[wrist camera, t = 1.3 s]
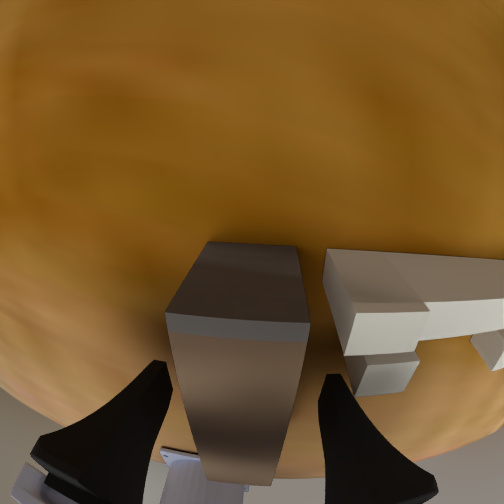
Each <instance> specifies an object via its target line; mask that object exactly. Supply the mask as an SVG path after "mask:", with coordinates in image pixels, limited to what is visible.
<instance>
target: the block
mask: <svg viewBox="0 0 504 504" xmlns="http://www.w3.org/2000/svg"><path fill="white" fill-rule="evenodd" d="M165 317H166V323H167V329H168V334H169V340H170V345H171V350H172V355H173V360H174V364H175V369H176V374H177V378H178V382H179V386H180V391H181V395H182V399H183V403H184V407H185V410H186V414H187V418H188V421H189V425H190V428H191V432H192V435H193V439H194V442H195V445H196V448H197V452H198V455H199V458H200V461H201V464H202V467H203V470H204V473H205V475H206V478H207V480H209V481H216V482H223V483H232V484H243V485H259V486H271V484H272V481H273V478H274V474H275V471H276V468H277V464H278V461H279V458H280V454H281V451H282V447H283V444H284V440H285V437H286V433H287V429H288V425H289V421H290V417H291V414H292V410H293V405H294V401H295V397H296V393H297V389H298V384H299V380H300V375H301V371H302V366H303V361H304V356H305V351H306V346H307V341H308V336H309V331H310V325H311V321H310V316H309V310H308V305H307V299H306V294H305V289H304V284H303V279H302V274H301V269H300V264H299V259H298V254H297V249H296V246H281V245H263V244H243V243H224V242H207V244H206V245H205V247H204V249H203V250H202V252H201V253H200V255H199V257H198V258H197V260H196V261H195V263H194V265H193V266H192V268H191V269H190V271H189V273H188V274H187V276H186V278H185V279H184V281H183V283H182V284H181V286H180V287H179V289H178V291H177V292H176V294H175V296H174V297H173V299H172V301H171V302H170V304H169V306H168V308H167V309H166V311H165Z"/></svg>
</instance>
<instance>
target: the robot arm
mask: <svg viewBox="0 0 504 504" xmlns="http://www.w3.org/2000/svg"><path fill="white" fill-rule="evenodd" d="M172 392H173V387H172V384H171V380H170V376H169V372H168V368H167V364H166V362H164V361H158V360H153V361H152V362H151V363H150V364H149V365H148V366H147V367H146V368H145V369H144V370H143V371H142V372H141V373H140V374H139V375H138V376H137V377H136V378H135V379H134V380H133V381H132V382H131V383H130V384H129V385H128V386H127V387H126V388H124V389H123V390H122V391H121V392H120V393H119V394H118V395H116V396H115V397H114V398H113V399H112V400H110V401H109V402H108V403H107V404H105V405H104V406H102V407H101V408H100V409H98V410H97V411H95V412H94V413H92V414H90V415H89V416H87V417H85V418H84V419H82V420H80V421H78V422H76V423H74V424H72V425H70V426H67V427H65V428H63V429H60V430H58V431H55V432H52V433H49V434H45V435H42V436H40V438H39V439H38V440H37V442H36V444H35V446H34V447H33V449H32V451H31V453H30V455H31V457H32V458H33V459H34V460H35V461H36V462H37V463H38V464H39V465H41V466H42V467H43V468H44V469H45V470H47V471H48V472H49V473H48V475H47V476H46V475H45V474H43V473H42V472H41V471H39V470H38V469H36V468H35V467H33V466H32V465H30V464H29V463H27V462H26V463H25V464H24V467H23V468H22V470H21V472H20V474H19V476H18V478H17V480H16V482H15V484H14V486H13V488H12V490H11V492H10V496H12V497H13V498H14V499H15V500H17V501H18V502H19V503H20V504H142V502H143V493H144V487H145V481H146V476H147V471H148V466H149V462H150V458H151V454H152V450H153V447H154V444H155V441H156V439H157V436H158V433H159V431H160V428H161V426H162V423H163V421H164V418H165V416H166V413H167V410H168V408H169V404H170V400H171V396H172ZM318 415H319V425H320V432H321V438H322V445H323V451H324V458H325V480H326V482H325V483H326V484H325V485H326V486H325V504H423V503H424V502H426V501H428V500H429V499H431V498H432V497H434V496H435V495H437V493H438V487H437V483H436V480H435V478H434V475H432V474H430V473H428V472H427V471H425V470H423V469H422V468H420V467H418V466H417V465H416V464H414V463H413V462H411V461H410V460H409V459H407V458H406V457H405V456H404V455H403V454H402V453H400V452H399V451H398V450H397V449H396V448H395V447H393V446H392V445H391V444H390V443H389V442H388V441H387V440H386V439H385V437H384V436H383V435H382V434H381V433H380V432H379V431H378V430H377V428H376V427H375V426H374V425H373V423H372V422H371V421H370V420H369V418H368V417H367V416H366V414H365V413H364V411H363V410H362V408H361V407H360V406H359V404H358V403H357V401H356V399H355V398H354V396H353V395H352V393H351V391H350V390H349V388H348V386H347V385H346V383H345V381H344V379H343V377H342V376H341V375H340V374H327V375H326V378H325V381H324V384H323V387H322V390H321V393H320V396H319V399H318ZM160 454H161V455H162V457H163V459H164V461H165V462H166V464H167V466H168V467H169V472H168V476H167V479H166V482H165V486H164V490H163V493H162V497H161V501H160V504H242V503H243V494H244V492H248V491H249V485H243V484H232V483H223V482H216V481H209V480H207V478H206V475H205V473H204V470H203V467H202V464H201V461H200V458H199V455H195V454H189V453H184V452H179V451H174V450H170V449H165V448H161V449H160Z"/></svg>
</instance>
